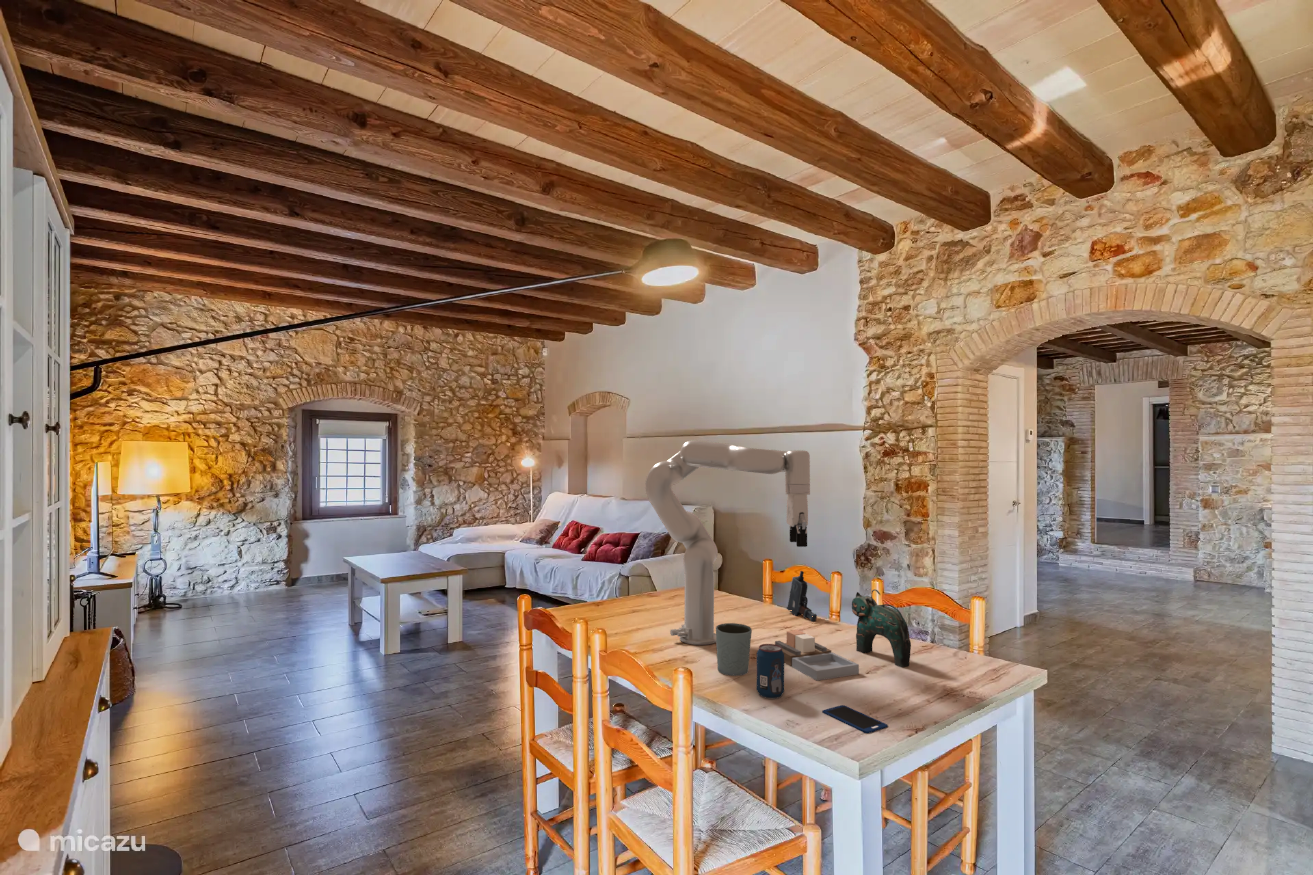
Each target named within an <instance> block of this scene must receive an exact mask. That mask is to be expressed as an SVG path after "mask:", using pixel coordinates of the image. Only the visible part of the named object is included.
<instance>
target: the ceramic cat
mask: <svg viewBox="0 0 1313 875" xmlns="http://www.w3.org/2000/svg"><path fill="white" fill-rule="evenodd" d="M874 591H875V592H876V593H877V594H878V595H879V596H881V593H880V591H879V590H878V589H872V590H871V594H870V595H861V593H859V592H858V591H856V594H855V597H854V598H853V599H852V601H851V609H852V610H851V611H852V614H854V615H855V616H856V617H858V619H857V624H856V634H855V639H856V646H855V647H856V652H858V653H859V652H860V653H862V654H868V653H872V652H873V644H874V643H873V642H874V639H875V637H876V636H881V637H884V638H885V639H886V640H888V642H889V643H890V647H891V649H892V654H893V659H894V665H895V666H896V667H899V668H905V667H910V660H911V651H912V649H911V648H912V642H911V640H910V639H911V638H910V631H909V626H908V623H907V622H906V620H905V618H904V617H903V614H902V613H901V611H900V610H899V609H898V608H897V607H896V606H894V605H892V604H887V603H884V604H878V603H877V601H876V599H874V598H873V593H874Z"/></svg>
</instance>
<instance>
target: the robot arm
mask: <svg viewBox="0 0 1313 875" xmlns="http://www.w3.org/2000/svg"><path fill="white" fill-rule="evenodd" d="M810 459H811V458H810V452H809V451H808V450H804V449H803V450H801V449H800V450H799V449H798V450H796V449H794V450H787V451H786V450H778V449H764V448H754V447H746V446H741V445H740V446H739V445H737V444H735V443H734V444H733V443H724V442H714V441H705V440H702V441H701V440H697V439H695V440H694V439H693V440H688V441H685V442H684V443H683V444H682V445H681V448H680V450H679V451H678V452H677V453H675V454H674V455H673V456H672V457H670V458H669V459H668V460H662V461H660V462H657V463H656V464H654V465H653V466H652V467H651V468H650V470H649V472H648V473H647V476H646V480H645V487H644V488H645V494H646V496H647V499H648V501H649V502H650V505H651V506H652V507H653V509H654V511H655V513H656V514H657V516H658V518H659V519H660V522H662V525H664V528H665V529H666V531H667V532H668V535H669V537H671V539H672V540H674V541H675V542H677V543H681V544H683V546H684V548H685V551H684V554H683V573H684V574H683V576H684V622H683V623H684V624H681V627H679V628H677V629H676V628H674V629H673V628H672V629H670V630H669V632H670V636H677V637H678V638H679V640H680V641H681V642H682V643H685V644H688V645H695V646H707V645H713V644H715V643H716V632H715V576H714V574H715V573H714V563H715V562H716V560H717V558H718V553H719V552H718V547H717V545H716V542H715V541H714V540H713V538H712V537H711V535H710V534H709V532H708V529H706V527H705V525H704V524H703V522H702V521H701V519H700V518H699V516H697V514H695V513H693V512H691V511H688V510H686V509H685V508H684V506H683V505H682V503H681V501H680V499H679V498H678V496H677V495H676V494H675V492H674V491H673V488H672V486H676V485H677V484H679V483H680V482H682V481H683V480H684V479H685V478H687V477H689V475H691V474H692V473H694V472H695V471H696V470H698V469H699V468H704V469H705V468H706V469H714V470H715V469H717V470H723V471H724V470H725V471H731V472H733V471H734V472H735V471H737V472H738V471H739V472H747V473H755V474H765V475H775V474H778V473H784V474H785V478H784V480H785V481H784V482H785V495H787V499H786V504H787V505H786V523H787V525H789V542H790V543H796V547H797V548H802V547H803V548H806V547H808V525H809V508H808V506H809V505H808V503H809V502H808V495H811V474H810V473H811V465H810V464H811V460H810Z"/></svg>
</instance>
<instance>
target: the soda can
mask: <svg viewBox="0 0 1313 875" xmlns="http://www.w3.org/2000/svg"><path fill="white" fill-rule="evenodd" d="M755 680H756V682H755V683H756V687H755V688H756V691H757V693H758V695H759V696H760V697H762V698H763V699H769V700H773V699H774V700H775V699H780V698H782V696H783V694H784V692H785V663H784V653H783V651H782V647H781V646H779V645H775V643H774V644H773V643H763V644H760V645H759V646H758V650H757V652H756V678H755Z"/></svg>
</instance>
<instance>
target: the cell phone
mask: <svg viewBox="0 0 1313 875" xmlns="http://www.w3.org/2000/svg"><path fill="white" fill-rule="evenodd" d="M821 713H822V714H824V715H826V716H828V717H830V718H833V719H834V720H836V721H839V722H840V723H843V724H845V725H847V726H849V727H851V728H853V729H855V730H857V731H860V732H862V733H864V734H872V733H874V732H878V731H880V730H884V729H887V728H888V727H889V726H888V724H887V723H886V722H882V721H881V720H878V719H876V718H874V717H873V716H870V715H867V714H865V713H863V712H860V711H858V710H856V709H854V708H851V707H850V706H847V705H844V704H841V705H837V706H833V707H830V708H825V709H823V710H822V711H821Z"/></svg>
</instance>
